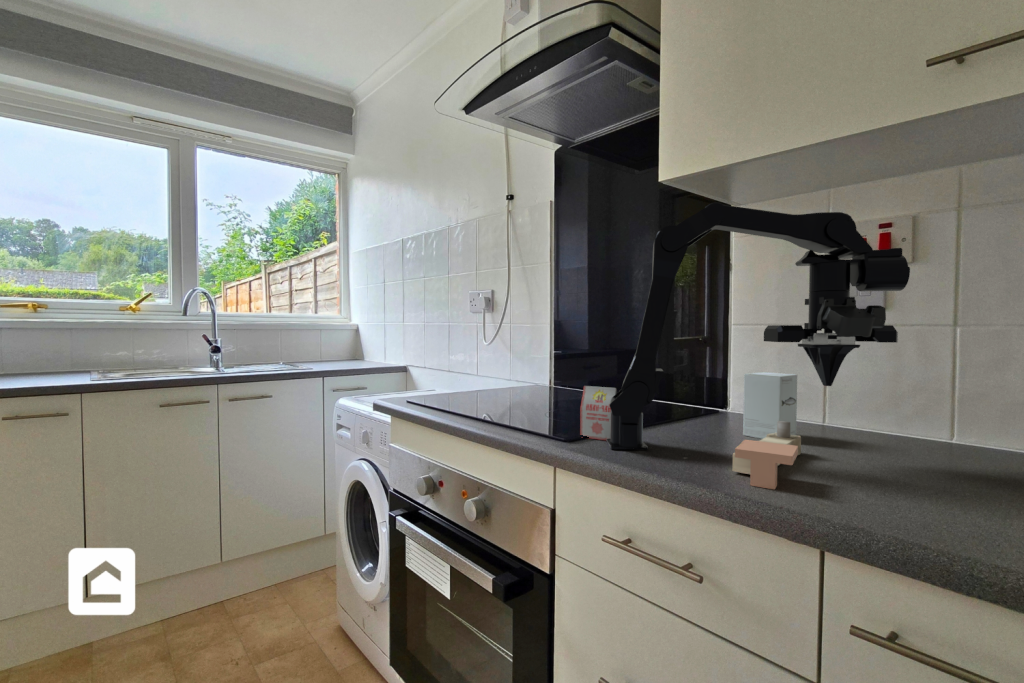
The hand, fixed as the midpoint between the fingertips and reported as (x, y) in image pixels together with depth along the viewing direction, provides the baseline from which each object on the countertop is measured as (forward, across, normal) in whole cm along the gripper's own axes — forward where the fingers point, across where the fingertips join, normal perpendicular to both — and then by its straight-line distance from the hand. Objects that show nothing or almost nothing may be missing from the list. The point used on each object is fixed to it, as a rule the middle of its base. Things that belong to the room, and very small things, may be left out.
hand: (827, 385), depth 83 cm
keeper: (+12, -16, -14) cm, 24 cm away
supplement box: (+12, -2, +16) cm, 20 cm away
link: (+12, -11, -4) cm, 16 cm away
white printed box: (+12, -36, +13) cm, 40 cm away
